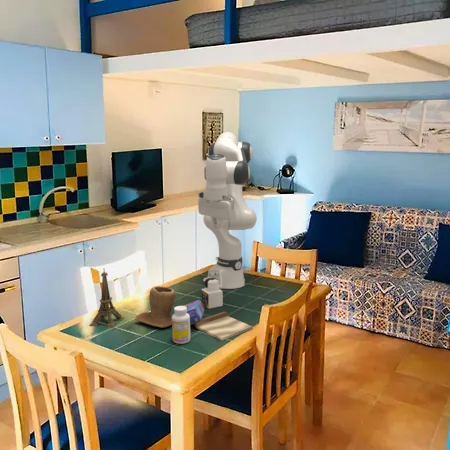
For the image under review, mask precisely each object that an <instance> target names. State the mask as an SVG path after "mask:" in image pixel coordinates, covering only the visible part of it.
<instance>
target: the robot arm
mask: <svg viewBox="0 0 450 450" xmlns="http://www.w3.org/2000/svg"><path fill="white" fill-rule="evenodd" d="M252 157H253V148H252V146H251V144H250V142H246V141H238V138H237V136H236V135H235V134H234V133H233V132H230V131H224V132H222V133H221V134H219V136H218V137H217V139H216V140H215V142H213V143H212V144H210V145H209V146H208V150H207V157H206V162H205V167H204V170H203V171H204V172H203V173H204V179H205V180H206V181H205V182H206V183H205V184H206V185H205V190H203V191H200V192H199V191H198V193H197V197H198V198H199V199H198V201H197V202H198V203H197V205H198V213H199V214H200V215H201V216H203V224H204V226H205V227H206V228H207V229H208V230H210V231H211V233H212V234H214V236H215V238H216V240H217V244H218V256H216V257H215V260H216V263H215V264H214V265H213V266H212V267H211V268H209V269H208V271H207V276H206V277H204V278H203V280H202V281H203V282H204V283H205V280H206V279H208V278H216V279H218V280H219V288H218V289H220V290H221V289H229V290H230V289H231V290H232V289H240V288H243V287H244V286H246V283H245V282H246V279H245V276H244V267H243V257H242V242H241V240H240V239H239V238H238V237H236V236H234V235H232V234H231V233H230V231H245V230H251V229H253V228H254V227H255V225H256V223H257V213H256V212H255V210H254V209H253V208H251V207H250V206H248V204H247V203H246V202H245V200H244V196H243V186H244V185H245V184H247V183H248V182H249V180H250V177H251V169H250V166H249V163H250V161H251V160H252Z"/></svg>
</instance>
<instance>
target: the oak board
mask: <svg viewBox="0 0 450 450" xmlns="http://www.w3.org/2000/svg"><path fill="white" fill-rule="evenodd" d="M193 325H194V326H193V328H194V329H197V330H198V331H201V332H203V333H204V334H207V335H209V336H211V337H214V338H215V339H217V340H220V341H224V340H226V339H229V338H232V337H235V336H237V335H240V334H243V333H245V332H248V331H251V330H253V325H250V324H247V323H246V322H242V321H240V320H238V319H235V318H233V317H231V316H229V315H228V312H227V311H222V312H219V313H216V314H213V315H209V316H206V317H205V318H204V317H203V318H201V320H200V322H198V323H195V324H193Z"/></svg>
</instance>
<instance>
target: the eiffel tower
mask: <svg viewBox="0 0 450 450" xmlns="http://www.w3.org/2000/svg"><path fill="white" fill-rule="evenodd" d="M100 273H101V272H100ZM108 275H109V274H108V272H106V271H105V269H103V272H102V273H101V274H100V277H101V278H102V279H101V280H102V281H101V283H102V284H101V297H100V299H99V302H100V305H99V309H98V310H97V313H96V315H95V317H94V319H92V321H91V323H90V324H89V325H88V326H89V327H96V326H97V325H98V326H99V321H100V320H105V319H106V318H107V326H106V328H108V329H109V328H110V329H114V328H116V327H117V324H116V323H115V321H123V320H124V319H125V317H123V316H122V314H121V313H120V312H119V311H118V310H116V307H115V306H114V304H113V302H112V300H113V297H112V296H111V295H110V290H109V284H108V279H107V276H108ZM112 315H113V316H114V318H115V321H114V319H113V318H112Z"/></svg>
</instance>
